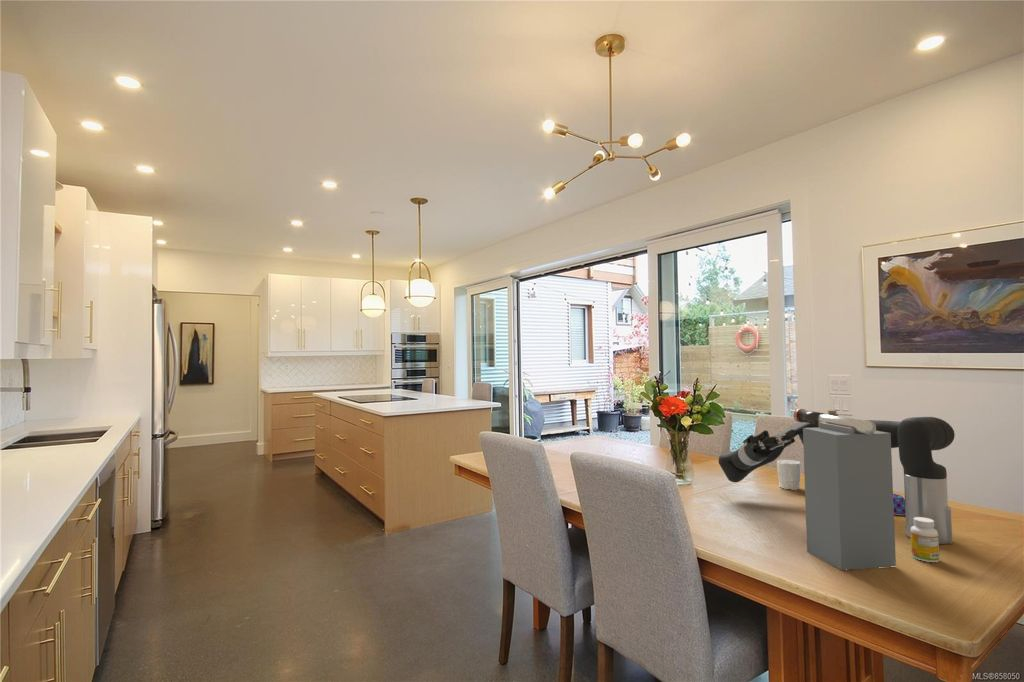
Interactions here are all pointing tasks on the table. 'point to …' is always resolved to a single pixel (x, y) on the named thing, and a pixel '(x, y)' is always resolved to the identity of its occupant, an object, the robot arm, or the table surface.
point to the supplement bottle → (924, 540)
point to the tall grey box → (849, 497)
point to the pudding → (898, 504)
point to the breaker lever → (834, 421)
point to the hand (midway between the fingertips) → (780, 432)
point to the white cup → (788, 474)
